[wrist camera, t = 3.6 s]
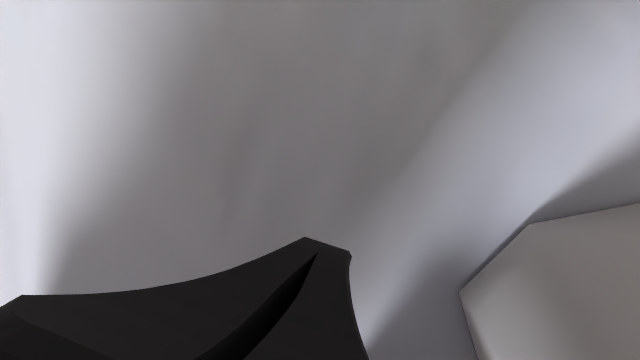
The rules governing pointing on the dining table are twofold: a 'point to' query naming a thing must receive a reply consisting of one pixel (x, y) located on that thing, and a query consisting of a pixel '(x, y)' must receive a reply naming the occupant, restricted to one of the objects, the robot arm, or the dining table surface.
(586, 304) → the flask
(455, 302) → the dining table surface
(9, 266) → the dining table surface
